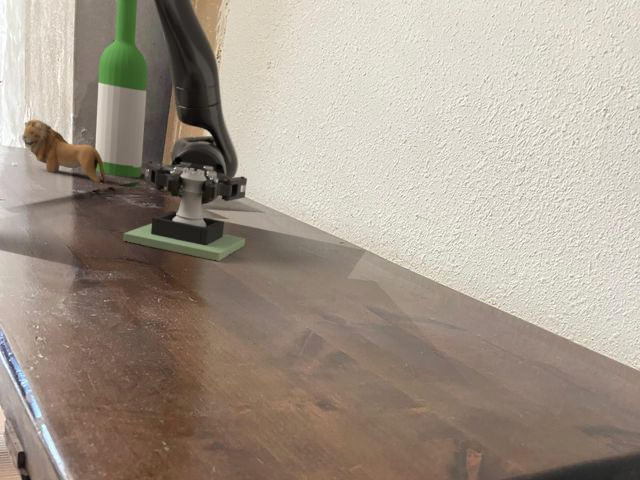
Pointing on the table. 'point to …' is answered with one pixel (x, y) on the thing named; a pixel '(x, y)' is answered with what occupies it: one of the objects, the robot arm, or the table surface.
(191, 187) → the rook chess piece
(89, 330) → the table surface
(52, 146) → the lion figurine
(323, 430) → the table surface
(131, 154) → the wine bottle
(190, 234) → the socket pad
